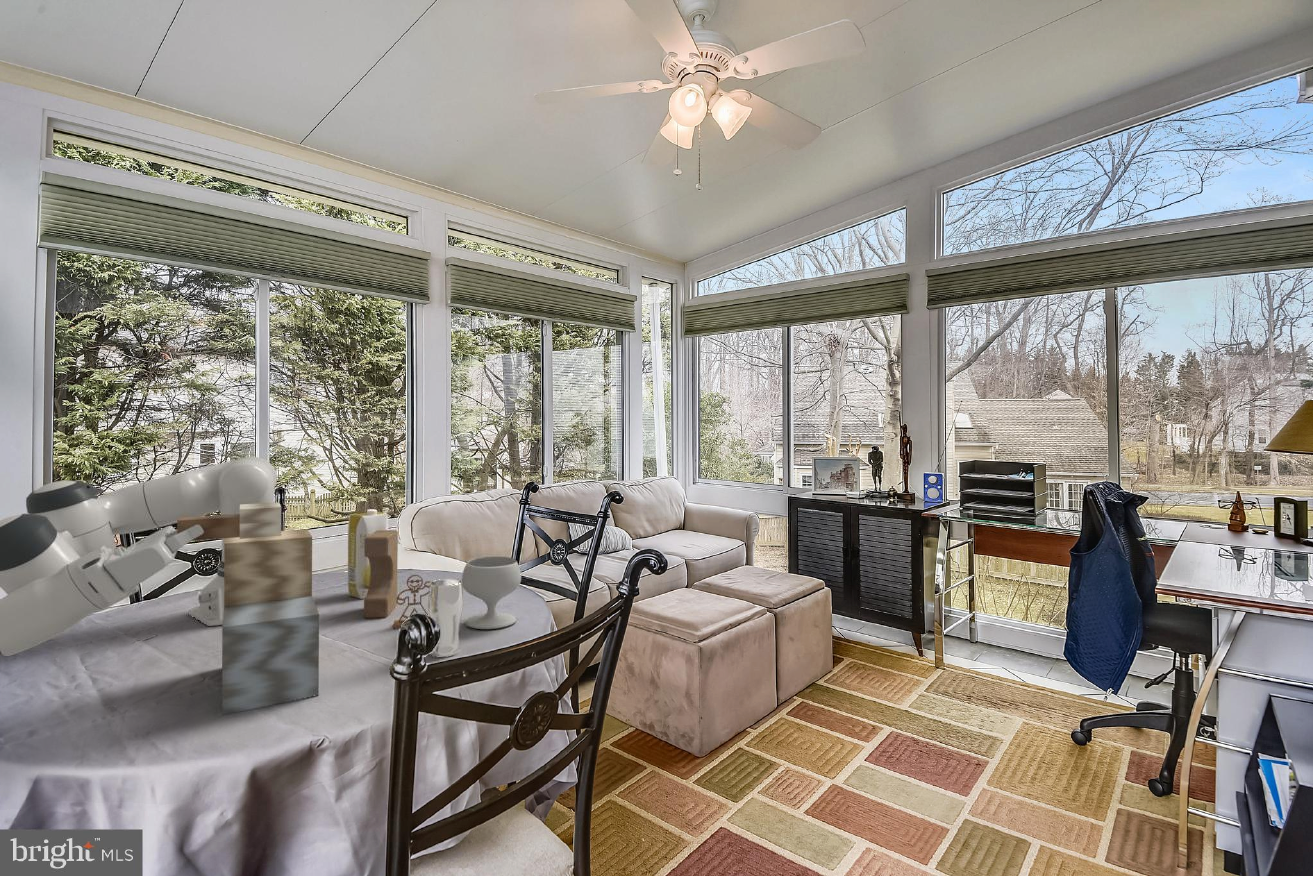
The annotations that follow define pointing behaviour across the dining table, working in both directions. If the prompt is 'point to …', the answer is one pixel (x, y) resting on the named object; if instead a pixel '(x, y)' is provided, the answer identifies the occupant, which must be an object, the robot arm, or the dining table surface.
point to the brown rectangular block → (238, 523)
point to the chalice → (491, 588)
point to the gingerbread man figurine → (399, 622)
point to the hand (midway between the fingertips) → (202, 525)
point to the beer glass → (446, 613)
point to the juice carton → (361, 549)
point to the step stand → (269, 622)
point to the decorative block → (381, 573)
